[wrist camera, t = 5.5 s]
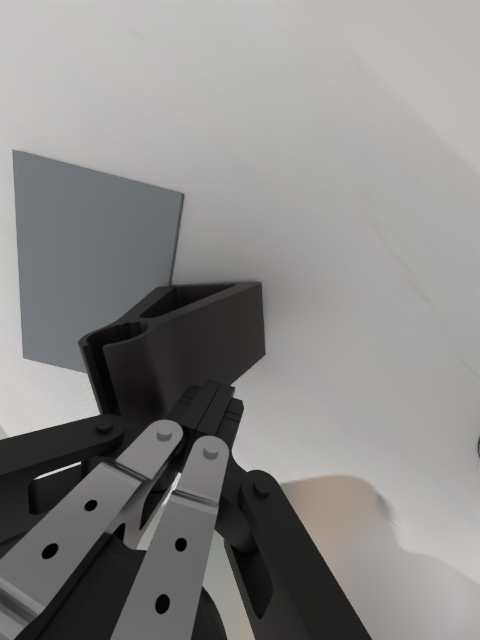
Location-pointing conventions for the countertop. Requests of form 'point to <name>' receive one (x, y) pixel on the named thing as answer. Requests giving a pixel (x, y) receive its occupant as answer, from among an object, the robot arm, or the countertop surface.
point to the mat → (85, 252)
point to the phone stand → (173, 348)
